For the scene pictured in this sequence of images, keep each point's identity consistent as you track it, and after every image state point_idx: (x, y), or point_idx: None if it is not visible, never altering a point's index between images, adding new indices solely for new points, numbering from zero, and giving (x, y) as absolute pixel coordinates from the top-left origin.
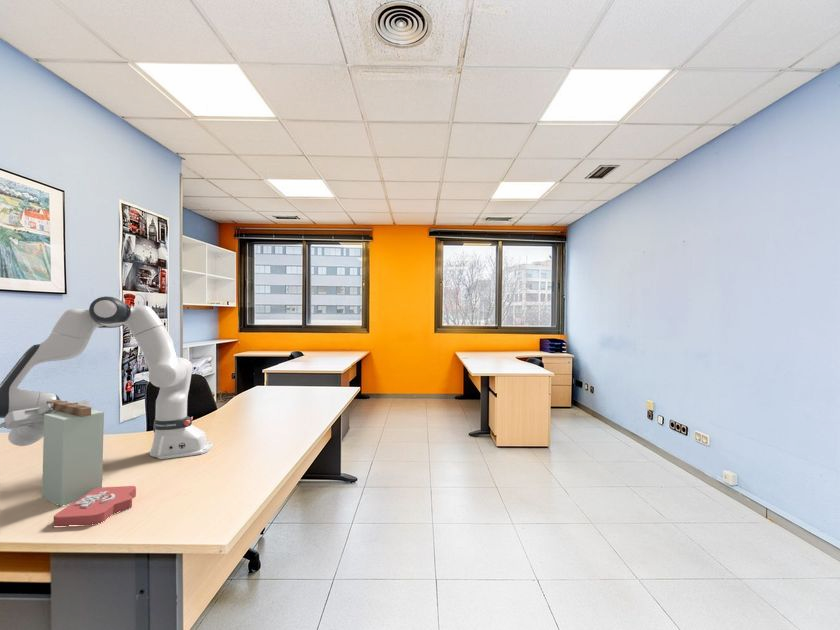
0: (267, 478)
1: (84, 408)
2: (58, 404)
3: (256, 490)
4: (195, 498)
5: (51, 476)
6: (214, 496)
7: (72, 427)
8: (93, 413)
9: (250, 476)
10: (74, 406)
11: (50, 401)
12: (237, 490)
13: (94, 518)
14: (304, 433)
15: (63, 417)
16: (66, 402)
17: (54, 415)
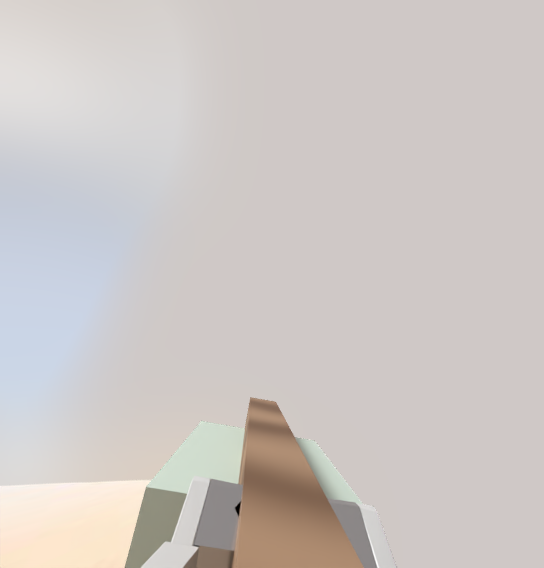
0: (47, 493)
1: (266, 400)
2: (304, 463)
3: (100, 490)
4: (131, 539)
5: None
6: (122, 521)
7: None
8: (227, 428)
9: (27, 514)
10: (273, 413)
11: None
12: (98, 507)
13: None
14: None
15: (309, 449)
16: (254, 449)
17: (331, 479)
